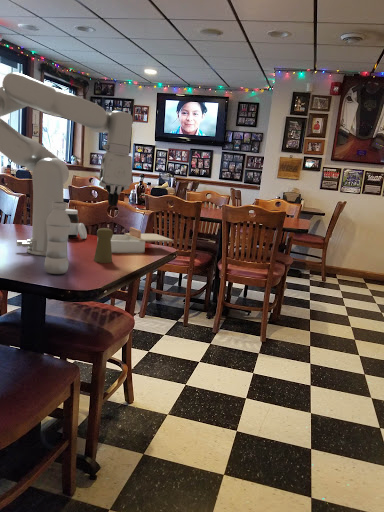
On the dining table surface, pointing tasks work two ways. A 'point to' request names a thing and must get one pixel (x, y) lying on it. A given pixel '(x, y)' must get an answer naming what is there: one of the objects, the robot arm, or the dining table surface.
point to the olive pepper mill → (103, 246)
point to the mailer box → (126, 244)
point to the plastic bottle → (57, 239)
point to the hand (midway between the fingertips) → (112, 205)
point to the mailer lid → (145, 236)
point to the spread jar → (75, 225)
